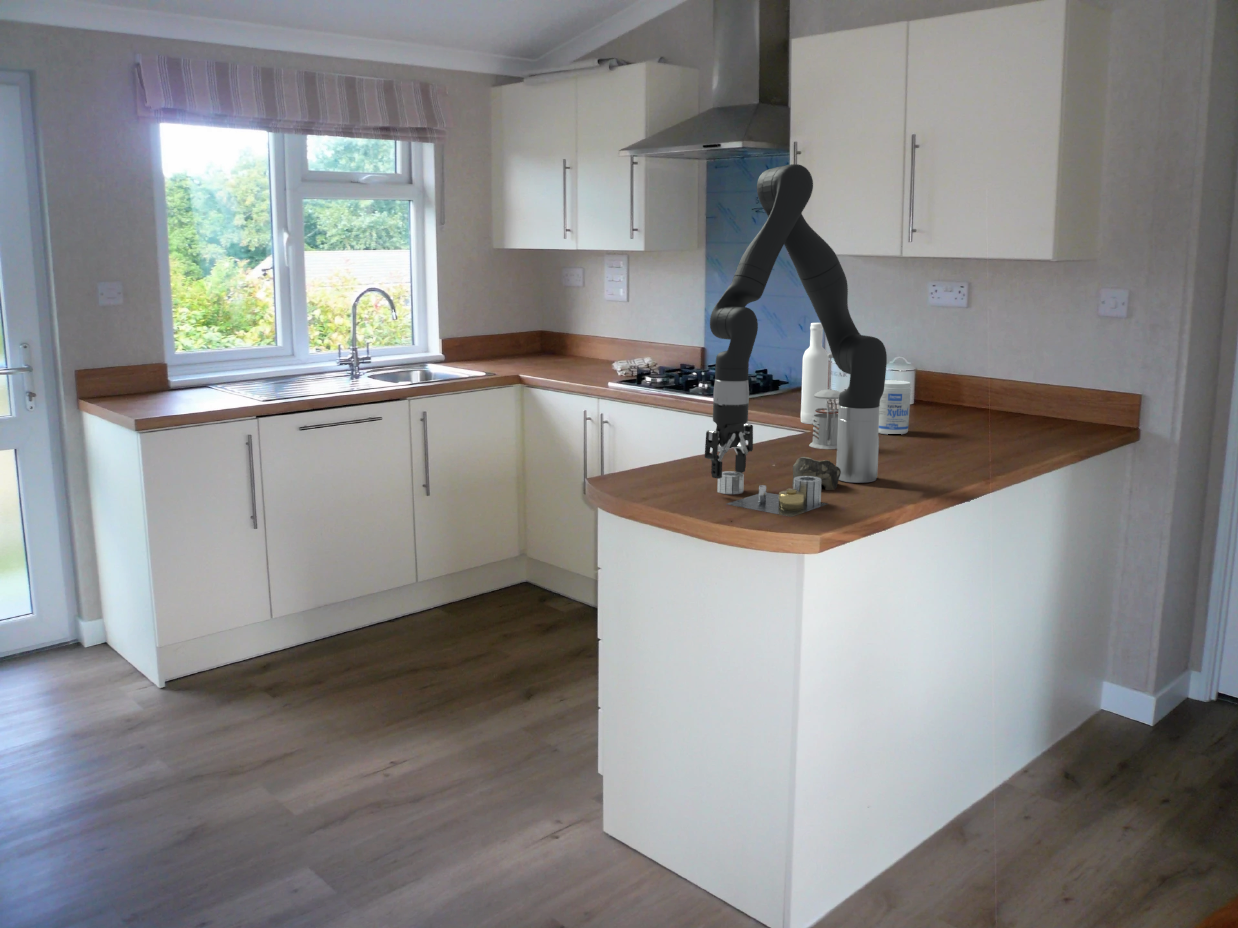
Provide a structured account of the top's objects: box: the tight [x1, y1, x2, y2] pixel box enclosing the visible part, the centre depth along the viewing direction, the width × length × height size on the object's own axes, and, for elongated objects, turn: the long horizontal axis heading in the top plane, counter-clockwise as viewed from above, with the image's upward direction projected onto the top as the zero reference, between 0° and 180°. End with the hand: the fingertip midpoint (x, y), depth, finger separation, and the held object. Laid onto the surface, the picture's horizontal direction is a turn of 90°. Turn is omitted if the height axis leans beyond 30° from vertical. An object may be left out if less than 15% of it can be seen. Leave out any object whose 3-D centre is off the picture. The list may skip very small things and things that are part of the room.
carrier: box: [726, 484, 829, 518], centre depth 222 cm, size 14×16×5 cm
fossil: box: [791, 456, 841, 491], centre depth 238 cm, size 11×9×10 cm
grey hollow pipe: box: [792, 476, 822, 506], centre depth 223 cm, size 6×6×5 cm
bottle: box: [800, 322, 830, 425], centre depth 324 cm, size 8×8×30 cm
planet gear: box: [716, 470, 745, 495], centre depth 233 cm, size 6×6×5 cm
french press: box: [808, 352, 842, 450], centre depth 287 cm, size 10×12×25 cm
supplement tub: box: [878, 379, 912, 435], centre depth 308 cm, size 10×10×15 cm
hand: (728, 475), depth 233 cm, fingers open, 8 cm apart
